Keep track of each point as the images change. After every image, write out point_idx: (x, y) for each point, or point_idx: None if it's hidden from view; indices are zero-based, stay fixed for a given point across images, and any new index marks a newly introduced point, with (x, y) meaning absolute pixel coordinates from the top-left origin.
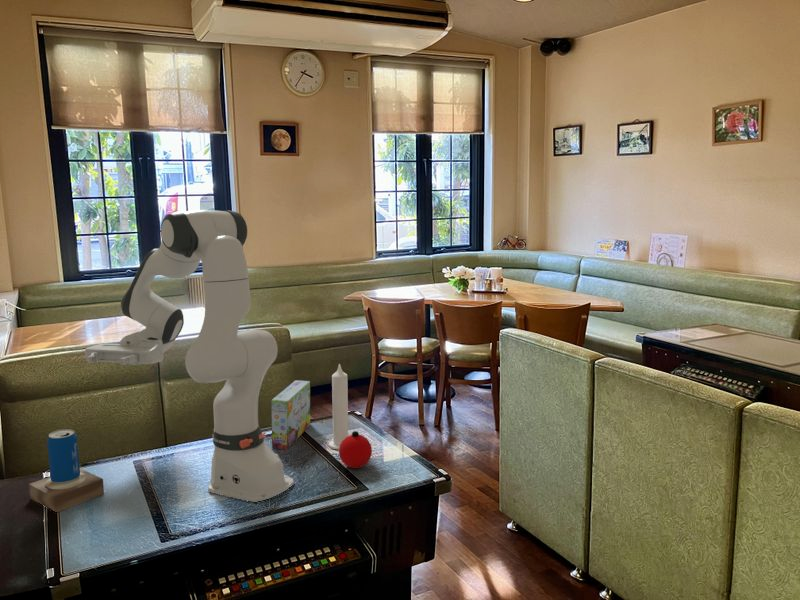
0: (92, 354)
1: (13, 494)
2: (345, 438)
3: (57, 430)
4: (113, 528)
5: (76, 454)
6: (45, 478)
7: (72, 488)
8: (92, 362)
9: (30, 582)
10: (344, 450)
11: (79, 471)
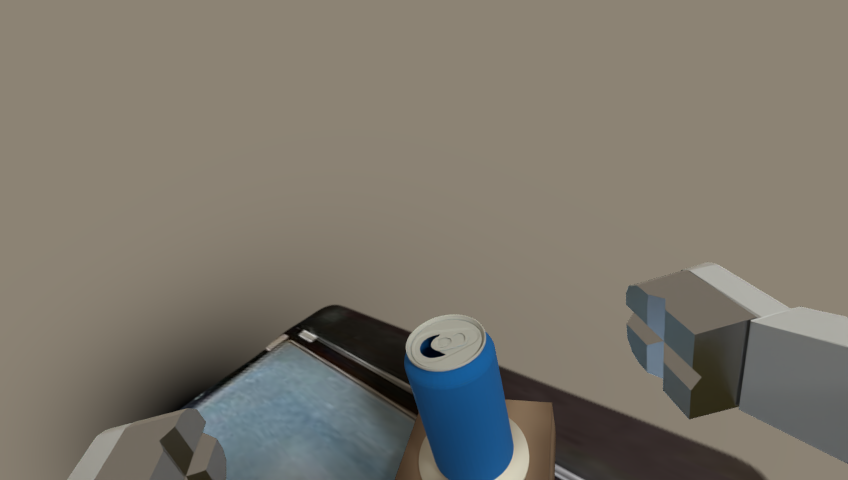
0: (833, 327)
1: (627, 429)
2: None
3: (483, 344)
4: (273, 439)
5: (419, 412)
6: (548, 440)
7: (420, 438)
8: (628, 340)
9: (319, 318)
10: None
11: (437, 463)
